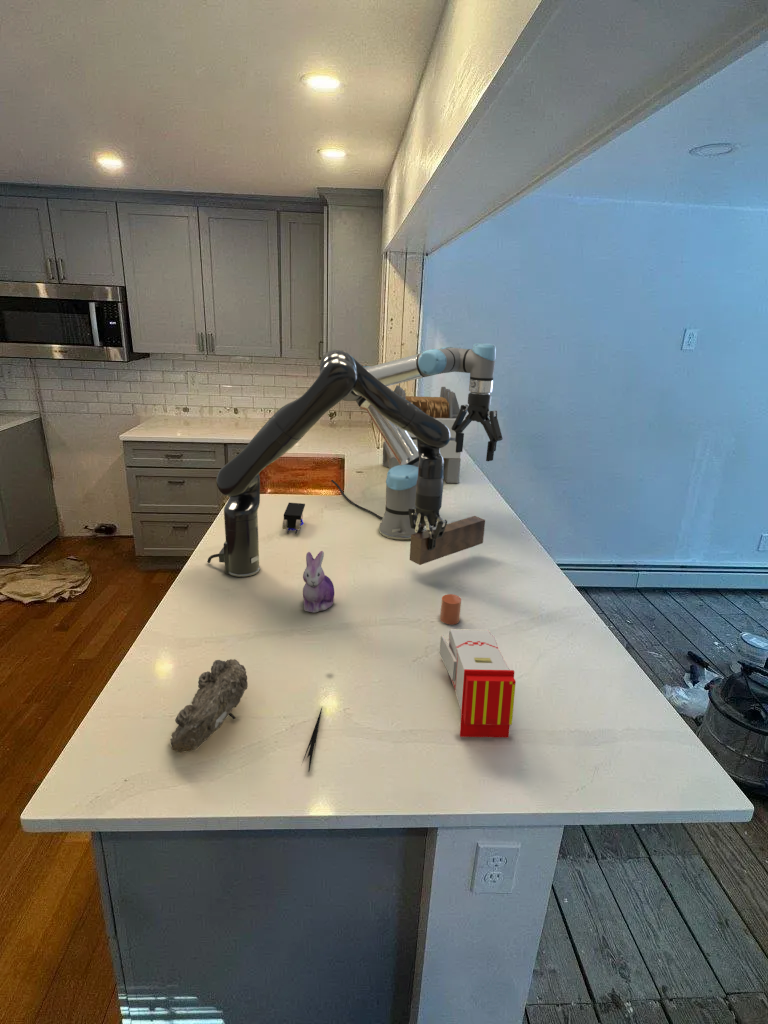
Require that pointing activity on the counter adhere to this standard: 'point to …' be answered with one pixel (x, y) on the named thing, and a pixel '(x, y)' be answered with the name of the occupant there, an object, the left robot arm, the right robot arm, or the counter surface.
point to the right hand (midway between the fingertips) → (473, 456)
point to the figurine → (316, 585)
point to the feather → (313, 740)
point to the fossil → (210, 704)
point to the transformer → (446, 413)
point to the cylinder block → (450, 609)
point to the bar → (448, 540)
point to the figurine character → (293, 517)
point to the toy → (479, 682)
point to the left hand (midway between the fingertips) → (425, 546)
